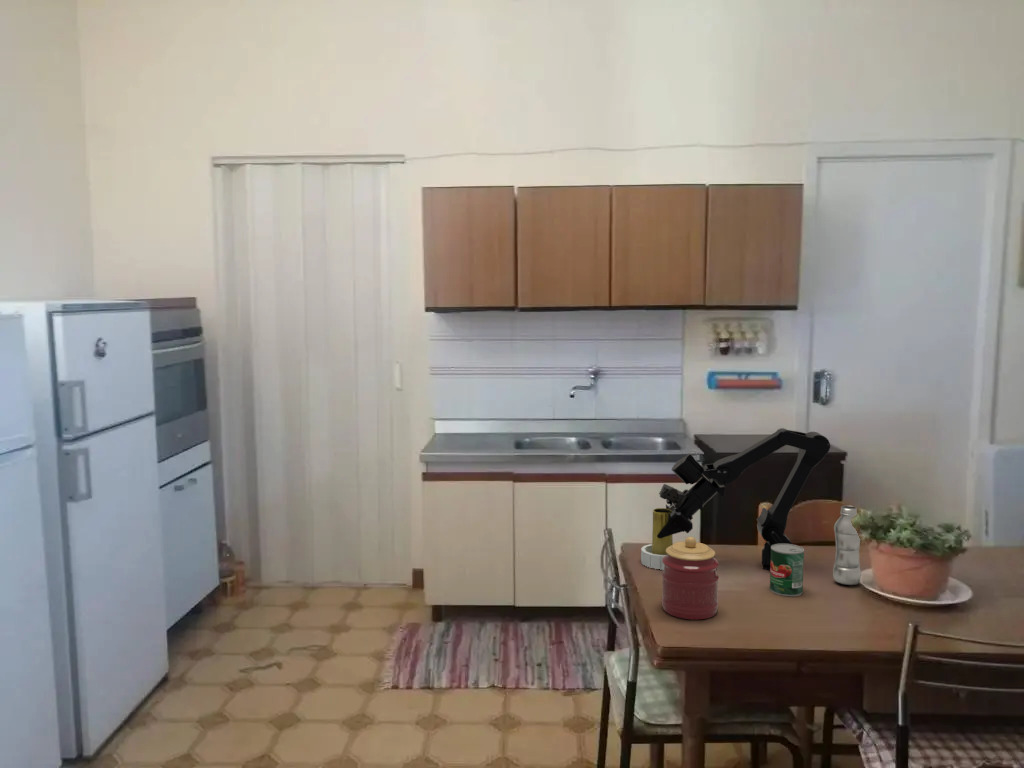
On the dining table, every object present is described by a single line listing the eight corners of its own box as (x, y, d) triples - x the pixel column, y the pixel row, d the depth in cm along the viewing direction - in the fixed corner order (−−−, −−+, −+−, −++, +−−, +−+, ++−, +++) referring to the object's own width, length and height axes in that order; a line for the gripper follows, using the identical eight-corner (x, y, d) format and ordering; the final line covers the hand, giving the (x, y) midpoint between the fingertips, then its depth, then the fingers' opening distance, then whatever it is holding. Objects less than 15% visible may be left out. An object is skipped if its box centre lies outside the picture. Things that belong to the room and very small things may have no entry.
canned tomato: (765, 592, 191) (766, 549, 190) (775, 582, 197) (776, 541, 196) (797, 599, 186) (798, 555, 185) (807, 589, 192) (808, 547, 191)
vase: (673, 564, 209) (673, 513, 207) (650, 563, 210) (650, 512, 209) (673, 557, 215) (674, 508, 213) (651, 556, 216) (651, 507, 215)
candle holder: (686, 560, 215) (686, 547, 214) (675, 572, 205) (675, 558, 205) (648, 554, 220) (648, 541, 220) (636, 566, 210) (636, 552, 210)
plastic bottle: (865, 588, 193) (868, 510, 191) (838, 588, 193) (840, 510, 191) (854, 579, 199) (857, 504, 197) (828, 579, 199) (830, 504, 197)
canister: (677, 623, 172) (678, 547, 170) (652, 602, 184) (652, 531, 183) (728, 617, 175) (730, 542, 174) (700, 596, 188) (701, 527, 186)
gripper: (674, 468, 219) (635, 505, 221) (680, 483, 200) (637, 523, 203) (702, 495, 219) (662, 532, 221) (710, 512, 200) (667, 552, 203)
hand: (657, 534), depth 212 cm, fingers open, 5 cm apart
